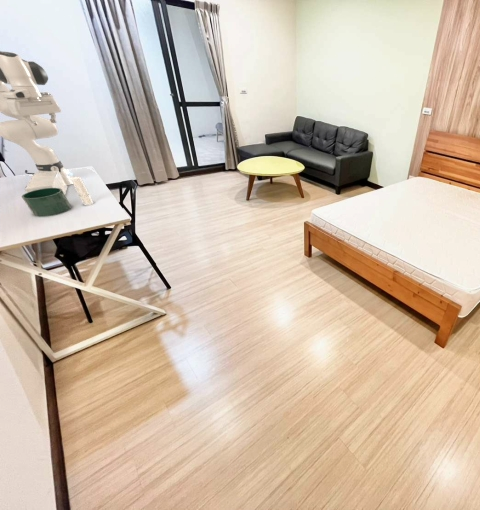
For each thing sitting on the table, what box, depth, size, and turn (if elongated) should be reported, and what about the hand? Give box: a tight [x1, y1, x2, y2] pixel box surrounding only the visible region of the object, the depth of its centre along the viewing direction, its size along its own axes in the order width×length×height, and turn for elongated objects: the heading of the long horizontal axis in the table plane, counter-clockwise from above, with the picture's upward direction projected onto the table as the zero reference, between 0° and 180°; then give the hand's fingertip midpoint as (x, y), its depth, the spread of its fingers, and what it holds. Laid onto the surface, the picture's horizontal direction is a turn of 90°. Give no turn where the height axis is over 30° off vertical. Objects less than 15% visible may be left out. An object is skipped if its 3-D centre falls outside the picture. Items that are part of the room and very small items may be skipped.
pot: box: [21, 188, 72, 218], centre depth 143 cm, size 15×15×10 cm
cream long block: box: [24, 170, 68, 195], centre depth 158 cm, size 32×11×11 cm, turn 36°
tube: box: [70, 176, 94, 206], centre depth 151 cm, size 4×4×15 cm
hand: (44, 124), depth 139 cm, fingers open, 8 cm apart
